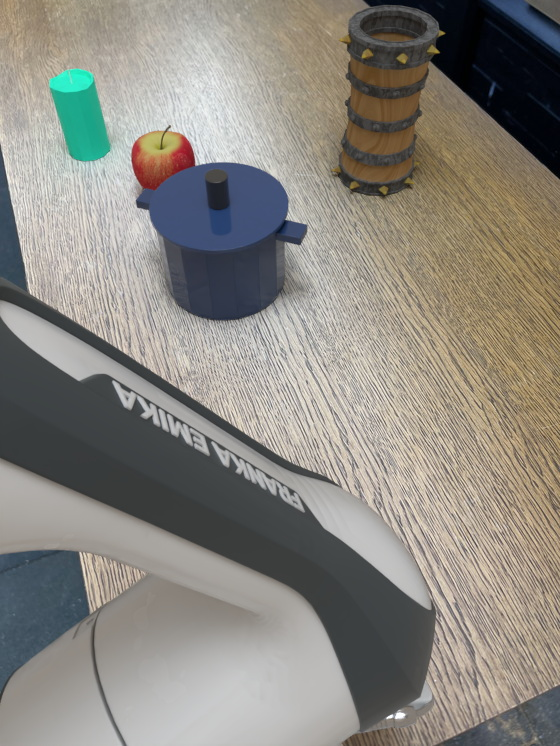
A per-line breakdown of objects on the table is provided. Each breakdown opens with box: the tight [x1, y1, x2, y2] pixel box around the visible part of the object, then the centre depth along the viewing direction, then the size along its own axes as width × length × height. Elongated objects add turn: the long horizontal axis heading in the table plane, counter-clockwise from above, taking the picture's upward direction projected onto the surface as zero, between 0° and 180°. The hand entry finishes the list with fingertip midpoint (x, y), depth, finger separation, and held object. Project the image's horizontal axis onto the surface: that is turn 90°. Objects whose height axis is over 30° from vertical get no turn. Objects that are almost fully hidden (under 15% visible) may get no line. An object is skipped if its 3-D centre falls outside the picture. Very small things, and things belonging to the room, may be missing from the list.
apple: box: [130, 124, 196, 190], centre depth 85 cm, size 8×8×10 cm
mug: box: [330, 4, 446, 197], centre depth 84 cm, size 13×17×20 cm
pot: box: [135, 188, 309, 321], centre depth 74 cm, size 14×19×10 cm
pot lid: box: [148, 161, 290, 254], centre depth 69 cm, size 15×15×5 cm
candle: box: [48, 68, 111, 162], centre depth 90 cm, size 6×6×12 cm
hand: (251, 617), depth 49 cm, fingers closed
